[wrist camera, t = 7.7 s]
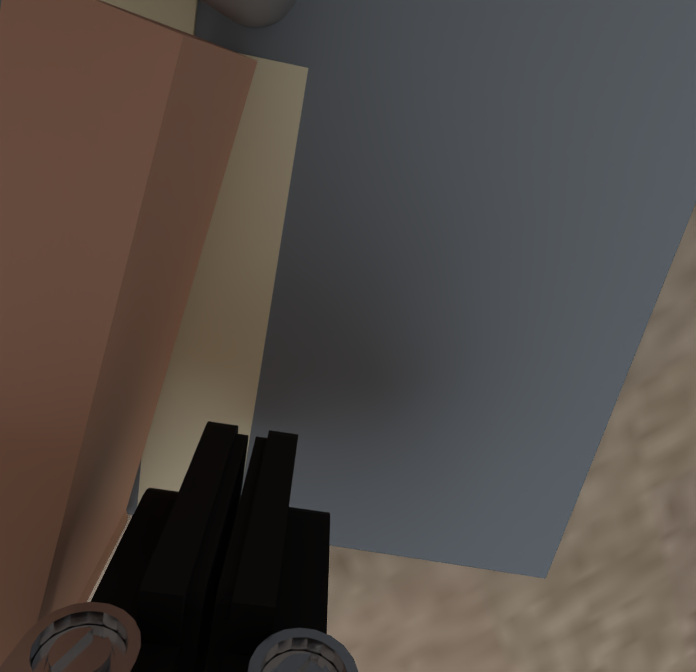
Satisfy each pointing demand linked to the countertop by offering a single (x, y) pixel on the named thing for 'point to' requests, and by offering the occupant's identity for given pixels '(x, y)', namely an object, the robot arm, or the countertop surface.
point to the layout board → (433, 257)
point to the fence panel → (93, 270)
